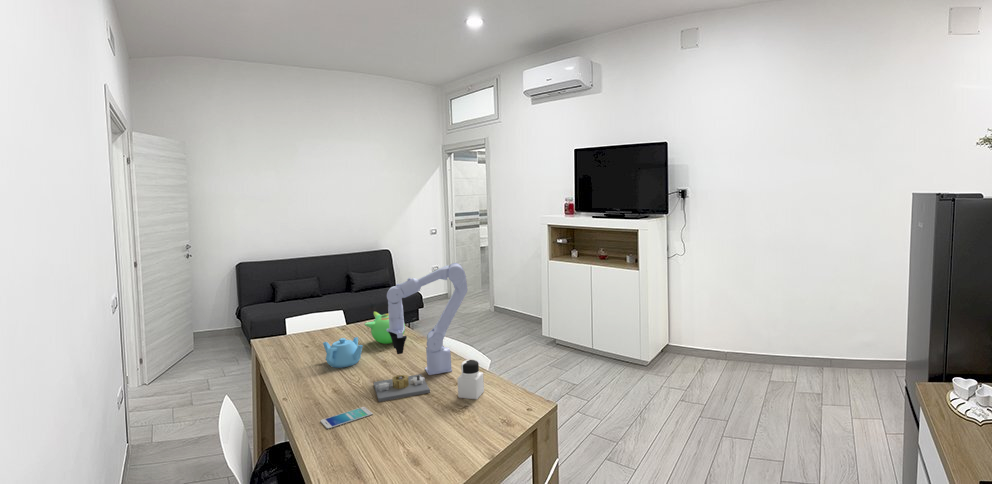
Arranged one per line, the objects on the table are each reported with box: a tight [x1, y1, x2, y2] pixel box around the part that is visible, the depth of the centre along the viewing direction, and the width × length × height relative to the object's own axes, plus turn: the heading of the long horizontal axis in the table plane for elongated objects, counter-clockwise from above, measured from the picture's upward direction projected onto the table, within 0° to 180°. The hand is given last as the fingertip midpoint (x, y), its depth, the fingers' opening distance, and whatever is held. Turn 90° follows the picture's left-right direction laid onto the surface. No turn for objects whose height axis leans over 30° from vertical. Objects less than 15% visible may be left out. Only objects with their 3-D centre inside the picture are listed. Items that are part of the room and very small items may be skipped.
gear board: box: [373, 373, 431, 403], centre depth 179 cm, size 18×16×4 cm
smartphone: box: [320, 406, 373, 430], centre depth 157 cm, size 7×1×15 cm
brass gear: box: [391, 374, 409, 389], centre depth 178 cm, size 6×6×3 cm
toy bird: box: [364, 311, 406, 345], centre depth 234 cm, size 18×17×15 cm
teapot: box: [322, 336, 364, 369], centre depth 209 cm, size 15×15×11 cm
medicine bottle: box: [456, 359, 485, 400], centre depth 171 cm, size 7×7×12 cm
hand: (398, 350), depth 193 cm, fingers open, 7 cm apart
